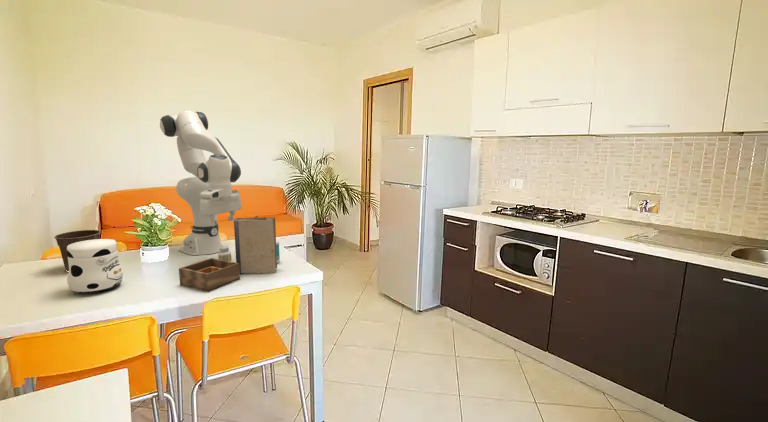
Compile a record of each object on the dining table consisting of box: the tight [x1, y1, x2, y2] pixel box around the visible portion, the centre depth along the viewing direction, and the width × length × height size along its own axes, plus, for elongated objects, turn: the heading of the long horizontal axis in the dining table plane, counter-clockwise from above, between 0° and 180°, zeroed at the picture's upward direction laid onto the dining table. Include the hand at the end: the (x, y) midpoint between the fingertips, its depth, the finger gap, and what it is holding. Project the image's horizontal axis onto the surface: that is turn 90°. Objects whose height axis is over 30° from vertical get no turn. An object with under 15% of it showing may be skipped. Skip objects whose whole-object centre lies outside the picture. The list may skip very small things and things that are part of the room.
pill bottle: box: [276, 238, 281, 264], centre depth 188 cm, size 8×7×14 cm
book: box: [233, 215, 278, 274], centre depth 174 cm, size 17×7×25 cm, turn 99°
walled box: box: [178, 257, 241, 293], centre depth 162 cm, size 16×16×7 cm
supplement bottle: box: [217, 245, 232, 262], centre depth 180 cm, size 5×5×10 cm
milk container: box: [66, 238, 124, 294], centre depth 153 cm, size 17×17×18 cm
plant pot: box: [53, 229, 102, 271], centre depth 176 cm, size 16×16×16 cm
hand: (222, 222), depth 177 cm, fingers open, 8 cm apart
